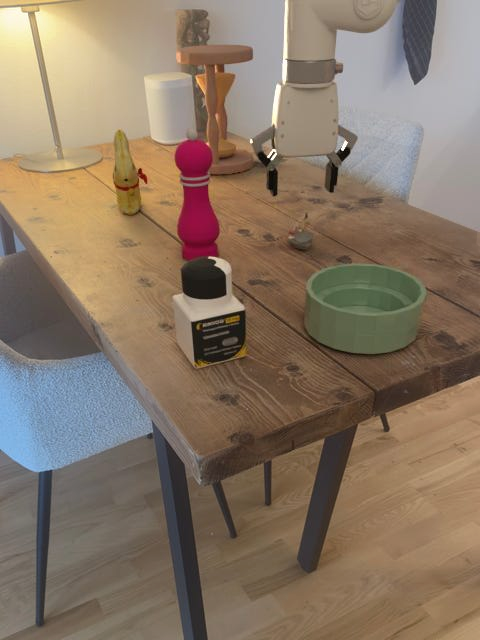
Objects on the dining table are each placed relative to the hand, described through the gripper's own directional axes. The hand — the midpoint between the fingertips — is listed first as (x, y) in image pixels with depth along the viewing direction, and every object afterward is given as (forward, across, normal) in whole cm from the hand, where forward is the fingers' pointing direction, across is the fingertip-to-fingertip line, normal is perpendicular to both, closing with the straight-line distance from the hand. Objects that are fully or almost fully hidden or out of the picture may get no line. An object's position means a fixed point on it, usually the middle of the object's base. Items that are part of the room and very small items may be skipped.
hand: (301, 192), depth 95 cm
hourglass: (+10, +7, -57) cm, 58 cm away
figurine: (+10, 0, 0) cm, 10 cm away
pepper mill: (+10, +18, 0) cm, 20 cm away
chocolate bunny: (+10, +29, -28) cm, 41 cm away
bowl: (+9, -1, +30) cm, 32 cm away
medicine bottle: (+10, +20, +32) cm, 39 cm away
